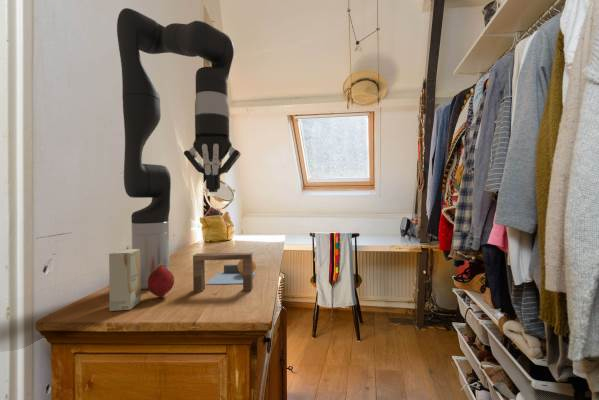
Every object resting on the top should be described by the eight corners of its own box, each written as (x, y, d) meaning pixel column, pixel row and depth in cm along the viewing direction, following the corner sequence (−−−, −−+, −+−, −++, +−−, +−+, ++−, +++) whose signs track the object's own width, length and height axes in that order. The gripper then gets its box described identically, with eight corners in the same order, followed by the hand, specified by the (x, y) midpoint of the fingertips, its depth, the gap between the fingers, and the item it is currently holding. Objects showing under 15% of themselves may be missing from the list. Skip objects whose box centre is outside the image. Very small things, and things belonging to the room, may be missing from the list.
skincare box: (130, 310, 64) (129, 252, 64) (108, 312, 63) (107, 253, 63) (142, 300, 70) (141, 248, 70) (121, 301, 69) (120, 248, 69)
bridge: (251, 290, 76) (250, 254, 76) (193, 292, 76) (192, 255, 76) (252, 287, 79) (252, 252, 79) (197, 288, 79) (196, 253, 79)
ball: (238, 254, 94) (239, 271, 95) (235, 261, 89) (237, 279, 90) (255, 254, 94) (256, 270, 95) (254, 260, 89) (255, 278, 90)
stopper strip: (223, 273, 95) (223, 265, 95) (224, 272, 96) (224, 264, 96) (249, 273, 95) (249, 265, 95) (249, 272, 96) (249, 264, 96)
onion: (163, 302, 69) (163, 267, 69) (141, 300, 70) (141, 266, 70) (179, 294, 74) (178, 261, 74) (158, 292, 76) (157, 261, 76)
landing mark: (250, 283, 82) (249, 283, 82) (206, 284, 82) (206, 283, 82) (255, 273, 94) (255, 272, 94) (217, 273, 94) (217, 273, 94)
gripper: (176, 111, 65) (177, 192, 65) (238, 111, 65) (239, 191, 65) (188, 120, 72) (189, 192, 72) (243, 120, 73) (244, 192, 73)
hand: (213, 191), depth 69 cm, fingers closed
